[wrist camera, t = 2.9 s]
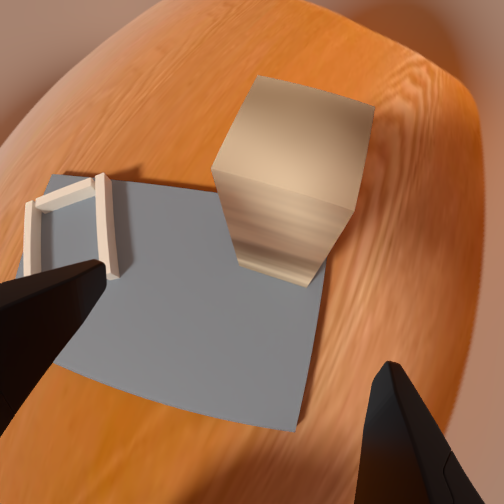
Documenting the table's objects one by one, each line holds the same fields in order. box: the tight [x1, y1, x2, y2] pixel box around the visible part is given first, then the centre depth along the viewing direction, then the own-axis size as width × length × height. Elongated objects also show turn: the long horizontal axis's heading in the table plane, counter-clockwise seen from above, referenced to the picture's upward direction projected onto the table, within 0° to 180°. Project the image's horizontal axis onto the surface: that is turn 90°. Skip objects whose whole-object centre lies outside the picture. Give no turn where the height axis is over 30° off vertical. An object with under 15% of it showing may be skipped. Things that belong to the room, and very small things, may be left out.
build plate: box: [16, 174, 327, 432], centre depth 22 cm, size 15×24×1 cm, turn 79°
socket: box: [23, 173, 120, 280], centre depth 22 cm, size 8×8×2 cm
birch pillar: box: [211, 75, 375, 288], centre depth 16 cm, size 5×5×12 cm
